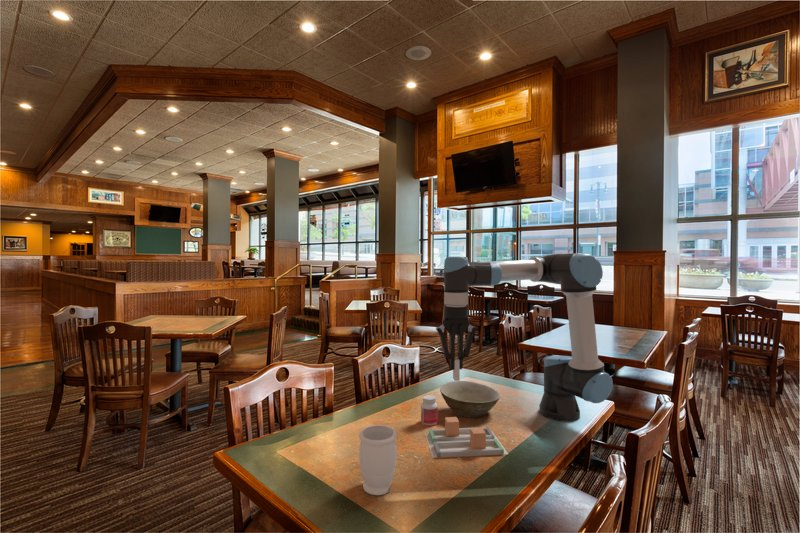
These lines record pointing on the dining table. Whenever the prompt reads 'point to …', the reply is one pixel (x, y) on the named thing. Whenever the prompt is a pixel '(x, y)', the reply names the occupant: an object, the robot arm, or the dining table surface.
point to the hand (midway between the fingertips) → (456, 379)
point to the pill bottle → (429, 411)
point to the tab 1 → (451, 427)
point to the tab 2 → (477, 438)
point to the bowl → (469, 398)
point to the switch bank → (461, 444)
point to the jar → (377, 458)
